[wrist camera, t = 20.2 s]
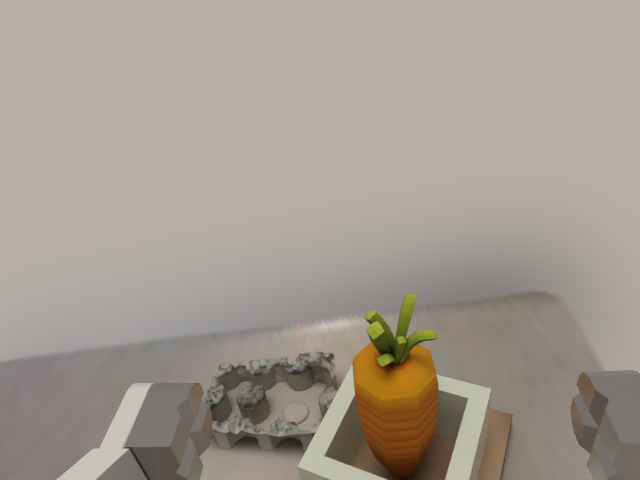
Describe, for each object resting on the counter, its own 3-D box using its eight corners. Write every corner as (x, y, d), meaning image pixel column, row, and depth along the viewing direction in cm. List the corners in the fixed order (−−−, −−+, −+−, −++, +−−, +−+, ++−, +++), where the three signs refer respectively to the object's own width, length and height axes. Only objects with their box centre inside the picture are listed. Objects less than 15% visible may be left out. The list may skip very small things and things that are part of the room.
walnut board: (280, 548, 32) (275, 536, 31) (361, 383, 42) (360, 371, 41) (469, 640, 26) (469, 629, 26) (510, 427, 36) (512, 414, 36)
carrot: (413, 428, 36) (405, 266, 27) (454, 488, 32) (460, 320, 23) (352, 458, 34) (325, 298, 26) (387, 523, 31) (368, 360, 22)
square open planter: (310, 510, 32) (297, 466, 29) (364, 397, 39) (357, 353, 36) (455, 573, 28) (456, 529, 25) (487, 435, 34) (491, 388, 32)
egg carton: (345, 383, 42) (340, 350, 40) (331, 464, 36) (324, 430, 34) (230, 376, 45) (219, 345, 43) (199, 451, 39) (185, 419, 37)
